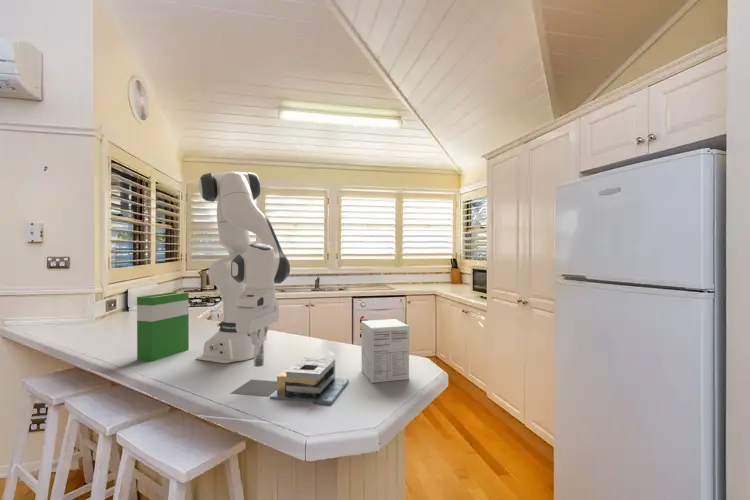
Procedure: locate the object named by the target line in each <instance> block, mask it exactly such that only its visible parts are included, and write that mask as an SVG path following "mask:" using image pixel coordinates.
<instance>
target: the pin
mask: <svg viewBox="0 0 750 500" xmlns="http://www.w3.org/2000/svg"><path fill="white" fill-rule="evenodd" d="M264 332H265V327H264V328H262V329H259V330H258V334H257V336H258V338H259V344H257V345H254V358H253V367H256V368H257V367H258V368H260V367H263V366H265V364H264V363H265V341H264Z"/></svg>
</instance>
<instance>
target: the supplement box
mask: <svg viewBox="0 0 750 500" xmlns="http://www.w3.org/2000/svg"><path fill="white" fill-rule="evenodd" d="M360 322H361V325H360V327H361V328H360V329H361V333H360V334H361V340H360V341H361V346H360V349H361V350H360V351H361V372H362V373H363V374H364V376H365V377H366V378H367V379H368V381H369V382H370V383H371V384H373V383H383V382H384V383H386V382H393V381H394V382H395V381H405V380H409V379H410V325H408V324H406V323H404V322H402V321H400V320H398V319H397V318H391V319H372V320H361V321H360Z"/></svg>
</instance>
